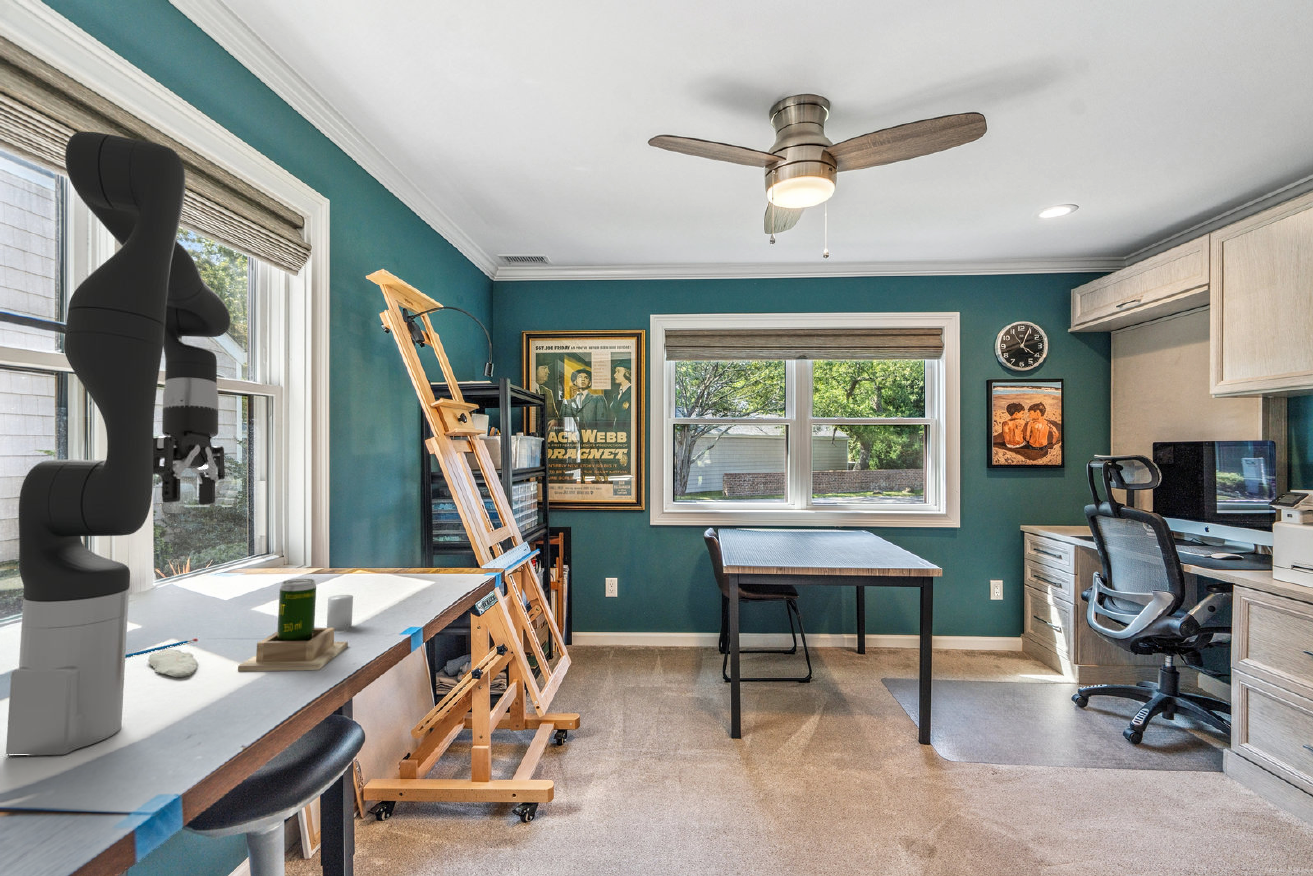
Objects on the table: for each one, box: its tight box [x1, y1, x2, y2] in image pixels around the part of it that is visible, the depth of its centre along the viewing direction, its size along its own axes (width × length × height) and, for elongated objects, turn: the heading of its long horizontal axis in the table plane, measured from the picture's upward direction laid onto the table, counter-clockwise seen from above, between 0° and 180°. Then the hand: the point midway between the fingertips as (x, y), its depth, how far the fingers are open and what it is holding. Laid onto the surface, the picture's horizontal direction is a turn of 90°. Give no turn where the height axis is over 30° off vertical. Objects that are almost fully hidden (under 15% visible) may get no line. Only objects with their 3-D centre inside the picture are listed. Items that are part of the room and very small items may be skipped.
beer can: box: [276, 578, 317, 641], centre depth 101 cm, size 5×5×12 cm
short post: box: [326, 594, 354, 632], centre depth 119 cm, size 4×4×6 cm
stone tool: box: [148, 648, 199, 678], centre depth 96 cm, size 6×2×15 cm
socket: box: [237, 627, 349, 672], centre depth 101 cm, size 12×12×4 cm
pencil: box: [125, 638, 199, 659], centre depth 101 cm, size 1×17×1 cm, turn 155°
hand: (190, 503), depth 100 cm, fingers open, 8 cm apart
